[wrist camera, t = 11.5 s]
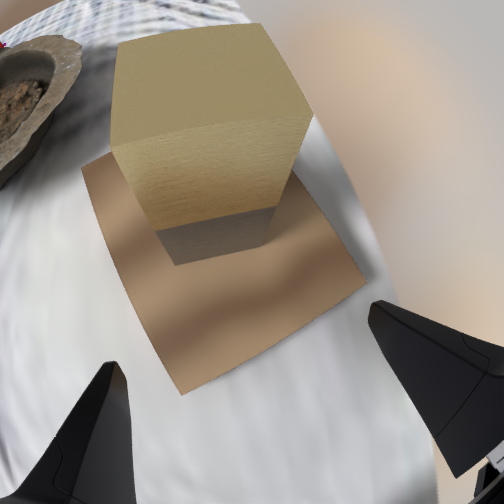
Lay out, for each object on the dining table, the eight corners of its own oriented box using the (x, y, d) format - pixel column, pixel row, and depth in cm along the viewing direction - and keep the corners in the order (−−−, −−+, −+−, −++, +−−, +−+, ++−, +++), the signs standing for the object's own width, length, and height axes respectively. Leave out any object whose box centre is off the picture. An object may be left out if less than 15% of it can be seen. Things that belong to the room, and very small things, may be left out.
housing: (260, 247, 19) (313, 114, 7) (175, 265, 18) (109, 147, 6) (239, 174, 20) (260, 23, 9) (162, 190, 19) (118, 43, 8)
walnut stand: (352, 289, 21) (367, 282, 19) (186, 389, 18) (181, 395, 16) (234, 117, 25) (236, 99, 22) (91, 183, 22) (81, 168, 19)
